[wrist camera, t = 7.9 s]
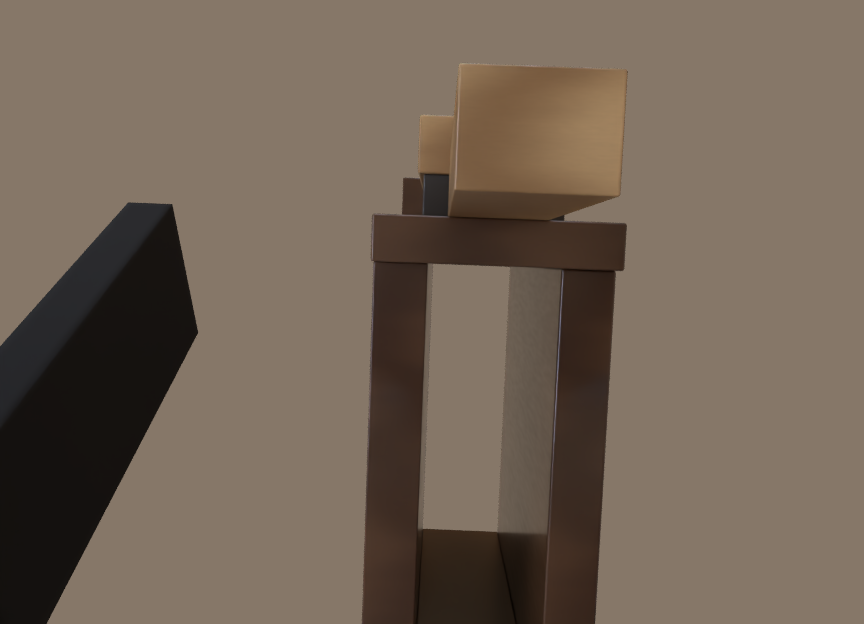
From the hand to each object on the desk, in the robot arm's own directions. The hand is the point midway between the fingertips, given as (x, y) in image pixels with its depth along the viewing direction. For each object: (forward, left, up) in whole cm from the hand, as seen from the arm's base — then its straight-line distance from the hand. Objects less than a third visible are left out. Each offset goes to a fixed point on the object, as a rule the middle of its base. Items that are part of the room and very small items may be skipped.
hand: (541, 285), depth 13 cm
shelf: (0, +18, -28) cm, 34 cm away
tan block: (0, +11, +2) cm, 11 cm away
